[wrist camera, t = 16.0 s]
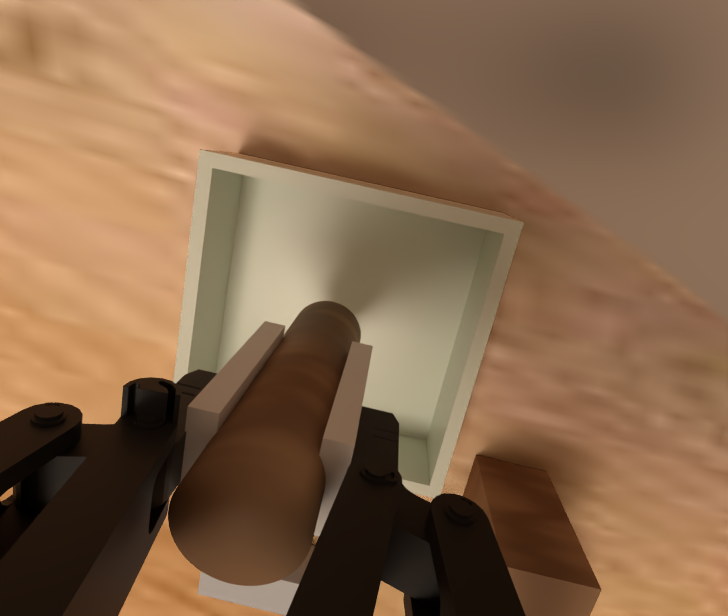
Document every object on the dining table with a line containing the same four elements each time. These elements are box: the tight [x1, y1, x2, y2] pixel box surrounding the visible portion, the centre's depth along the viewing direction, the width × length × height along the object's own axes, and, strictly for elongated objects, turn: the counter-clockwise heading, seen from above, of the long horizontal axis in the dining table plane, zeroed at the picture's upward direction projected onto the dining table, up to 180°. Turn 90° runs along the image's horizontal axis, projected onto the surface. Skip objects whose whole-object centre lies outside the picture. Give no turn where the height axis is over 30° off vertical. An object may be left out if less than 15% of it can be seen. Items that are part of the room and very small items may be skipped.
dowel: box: [168, 301, 361, 586], centre depth 16 cm, size 3×3×12 cm
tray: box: [174, 149, 524, 498], centre depth 24 cm, size 13×13×5 cm
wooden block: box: [463, 455, 601, 616], centre depth 24 cm, size 4×4×8 cm
